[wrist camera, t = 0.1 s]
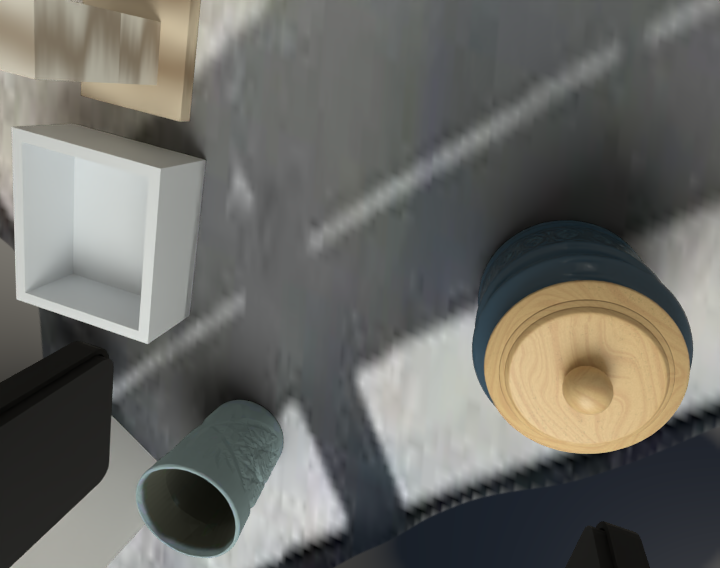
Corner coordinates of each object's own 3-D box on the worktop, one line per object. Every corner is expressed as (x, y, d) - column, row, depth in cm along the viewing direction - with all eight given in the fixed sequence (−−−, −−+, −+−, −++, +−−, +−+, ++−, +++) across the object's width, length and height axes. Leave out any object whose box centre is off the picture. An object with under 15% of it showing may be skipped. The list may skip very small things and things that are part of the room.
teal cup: (306, 433, 55) (258, 515, 44) (262, 490, 59) (207, 579, 48) (228, 375, 56) (160, 443, 45) (189, 436, 60) (118, 512, 49)
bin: (73, 123, 51) (11, 126, 44) (206, 159, 48) (160, 168, 42) (71, 276, 56) (16, 299, 50) (189, 315, 54) (147, 344, 48)
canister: (631, 371, 45) (704, 522, 29) (475, 355, 48) (461, 484, 32) (657, 219, 41) (759, 296, 25) (483, 213, 44) (472, 278, 28)
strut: (108, 9, 45) (-36, -24, 33) (161, 22, 44) (33, -8, 32) (106, 72, 47) (-31, 62, 35) (156, 85, 46) (34, 79, 34)
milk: (110, 414, 62) (-138, 612, 38) (180, 484, 62) (-20, 722, 38) (62, 463, 66) (-187, 667, 42) (127, 528, 67) (-80, 764, 43)
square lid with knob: (95, -26, 46) (42, -42, 40) (200, -3, 44) (159, -17, 39) (92, 95, 49) (43, 95, 44) (189, 121, 48) (150, 123, 42)
